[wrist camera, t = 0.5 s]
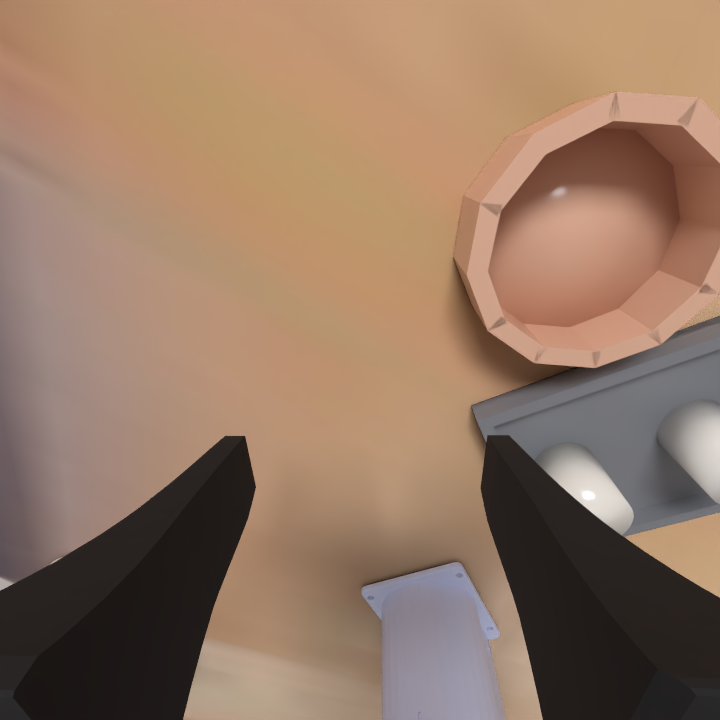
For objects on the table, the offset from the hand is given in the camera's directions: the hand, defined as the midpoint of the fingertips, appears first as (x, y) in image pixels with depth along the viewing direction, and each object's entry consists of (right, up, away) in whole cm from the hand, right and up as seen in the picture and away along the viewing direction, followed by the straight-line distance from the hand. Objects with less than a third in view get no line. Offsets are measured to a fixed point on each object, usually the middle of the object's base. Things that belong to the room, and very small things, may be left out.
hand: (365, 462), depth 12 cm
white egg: (+18, -1, +10) cm, 21 cm away
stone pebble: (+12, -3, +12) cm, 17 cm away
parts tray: (+15, -2, +11) cm, 19 cm away
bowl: (+9, +9, +6) cm, 14 cm away
